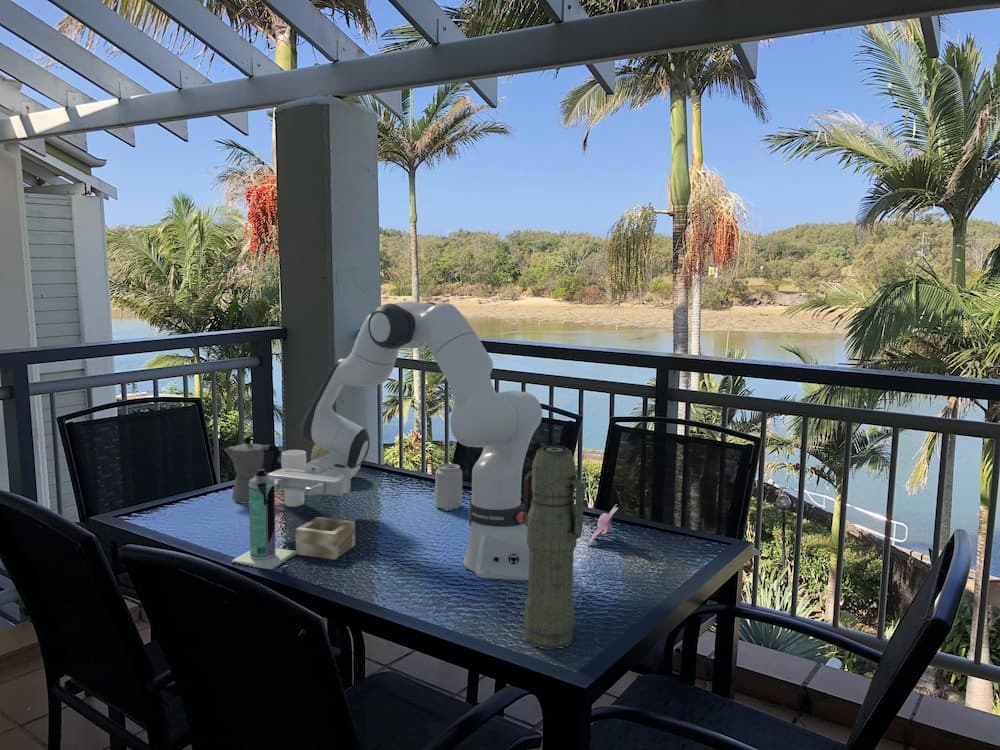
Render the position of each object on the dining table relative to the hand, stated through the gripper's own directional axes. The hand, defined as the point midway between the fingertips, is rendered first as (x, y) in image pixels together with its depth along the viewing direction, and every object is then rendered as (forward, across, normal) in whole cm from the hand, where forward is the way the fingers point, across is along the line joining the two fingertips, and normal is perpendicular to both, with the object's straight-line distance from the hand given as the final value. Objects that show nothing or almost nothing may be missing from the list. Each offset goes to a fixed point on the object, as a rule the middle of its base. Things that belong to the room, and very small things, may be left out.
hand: (290, 489), depth 188 cm
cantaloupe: (-57, -19, +13) cm, 61 cm away
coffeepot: (-29, -30, +13) cm, 43 cm away
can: (-41, +25, +13) cm, 50 cm away
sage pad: (+11, 0, +13) cm, 17 cm away
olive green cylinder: (+28, +70, +13) cm, 77 cm away
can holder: (+1, +10, +13) cm, 17 cm away
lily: (-27, +71, +13) cm, 77 cm away
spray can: (+12, 0, +12) cm, 17 cm away
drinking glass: (-28, -16, +13) cm, 35 cm away
